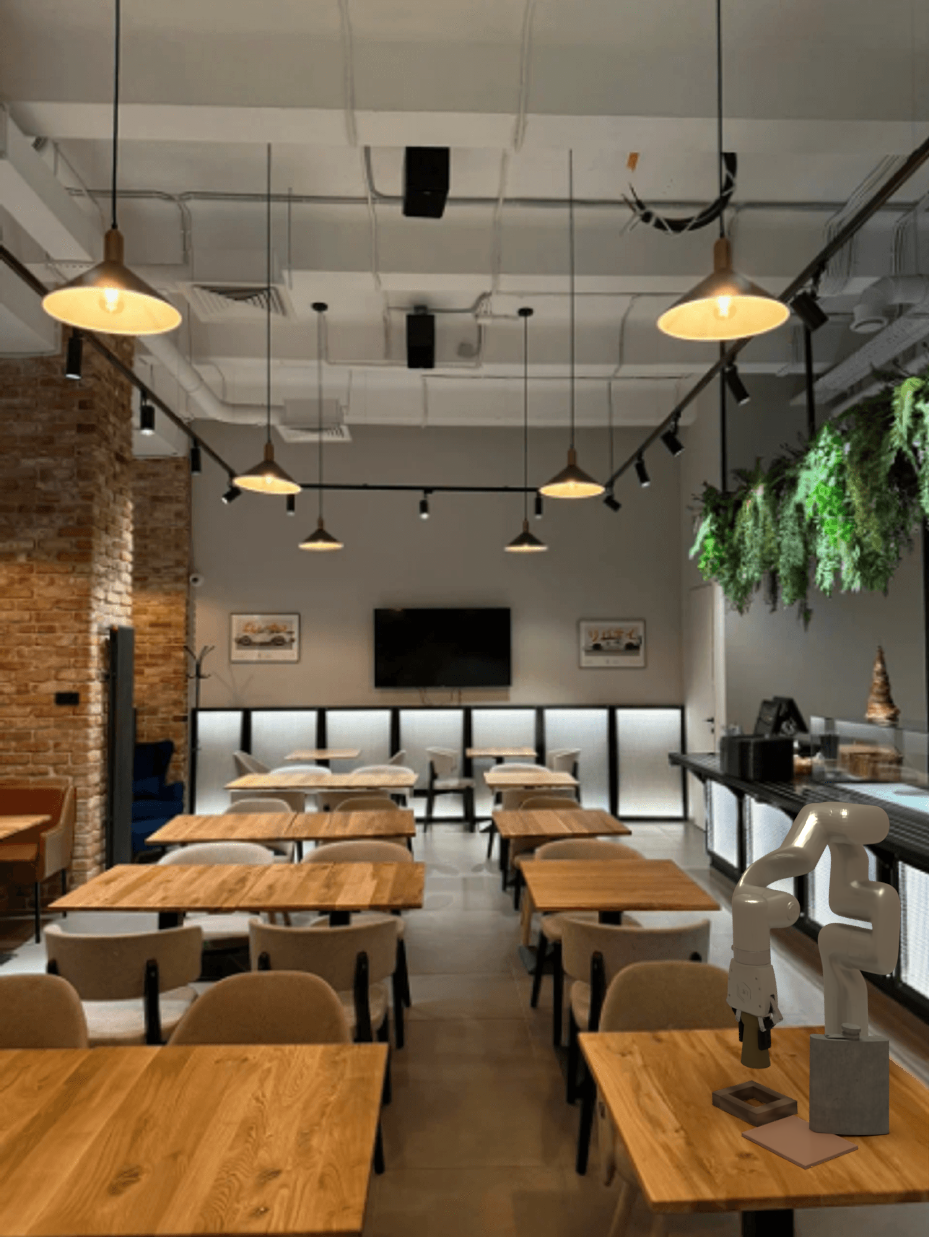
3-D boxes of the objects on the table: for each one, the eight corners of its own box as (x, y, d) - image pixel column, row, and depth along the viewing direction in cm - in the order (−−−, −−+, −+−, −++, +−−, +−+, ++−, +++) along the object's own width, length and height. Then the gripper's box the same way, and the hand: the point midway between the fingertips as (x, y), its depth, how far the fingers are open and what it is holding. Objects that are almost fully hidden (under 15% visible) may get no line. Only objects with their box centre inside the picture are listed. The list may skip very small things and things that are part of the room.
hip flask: (883, 1126, 187) (884, 1022, 189) (894, 1135, 183) (894, 1029, 185) (806, 1125, 186) (807, 1020, 188) (815, 1134, 182) (816, 1027, 184)
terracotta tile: (793, 1118, 190) (793, 1114, 191) (858, 1148, 178) (858, 1145, 178) (741, 1135, 183) (741, 1132, 183) (805, 1169, 170) (805, 1165, 170)
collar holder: (752, 1092, 203) (751, 1080, 203) (797, 1113, 193) (797, 1100, 193) (712, 1104, 197) (712, 1092, 197) (757, 1127, 186) (756, 1114, 187)
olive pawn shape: (769, 1058, 198) (767, 1004, 199) (772, 1069, 192) (770, 1014, 193) (739, 1056, 199) (737, 1003, 200) (741, 1067, 193) (740, 1013, 194)
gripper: (709, 948, 202) (712, 1035, 201) (771, 969, 188) (775, 1062, 187) (733, 943, 206) (736, 1028, 205) (797, 962, 192) (800, 1054, 191)
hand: (754, 1043), depth 196 cm, fingers closed on olive pawn shape, 4 cm apart
